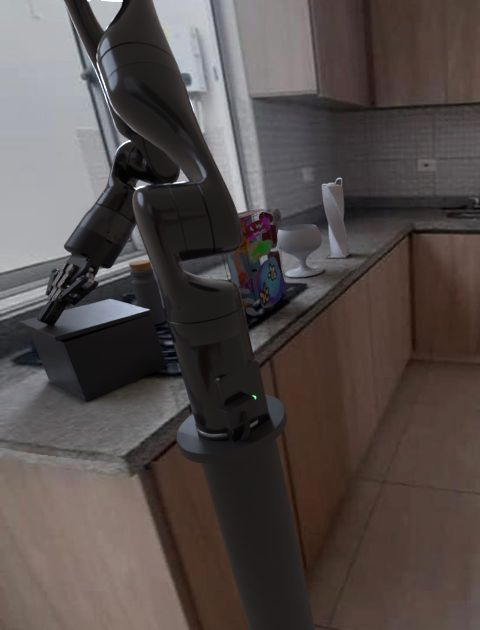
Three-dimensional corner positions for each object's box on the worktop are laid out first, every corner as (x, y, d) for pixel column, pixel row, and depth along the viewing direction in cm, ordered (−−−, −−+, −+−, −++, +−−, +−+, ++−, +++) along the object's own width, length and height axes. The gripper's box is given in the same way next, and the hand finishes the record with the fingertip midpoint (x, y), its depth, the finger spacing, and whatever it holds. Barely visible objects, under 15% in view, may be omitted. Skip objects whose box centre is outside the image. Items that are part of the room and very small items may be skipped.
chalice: (275, 279, 139) (266, 232, 134) (292, 267, 152) (285, 223, 146) (317, 279, 137) (311, 231, 132) (331, 267, 150) (326, 222, 145)
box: (283, 290, 128) (268, 204, 119) (303, 290, 127) (289, 204, 118) (235, 323, 105) (213, 220, 96) (259, 323, 104) (238, 219, 95)
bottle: (162, 315, 113) (145, 258, 108) (175, 318, 110) (159, 260, 105) (138, 323, 109) (120, 264, 103) (152, 326, 106) (134, 266, 100)
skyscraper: (354, 253, 167) (346, 176, 157) (348, 259, 159) (339, 178, 149) (332, 254, 168) (323, 177, 158) (325, 259, 161) (315, 179, 150)
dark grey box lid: (56, 341, 70) (54, 336, 69) (20, 325, 77) (18, 321, 77) (151, 313, 81) (150, 309, 81) (111, 302, 89) (110, 298, 89)
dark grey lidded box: (86, 402, 74) (63, 343, 70) (49, 381, 82) (27, 327, 78) (167, 366, 85) (151, 314, 81) (127, 351, 93) (112, 302, 89)
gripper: (63, 222, 79) (4, 307, 74) (97, 226, 73) (35, 320, 68) (104, 245, 85) (52, 325, 80) (139, 250, 79) (85, 338, 74)
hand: (44, 323), depth 74 cm, fingers closed
